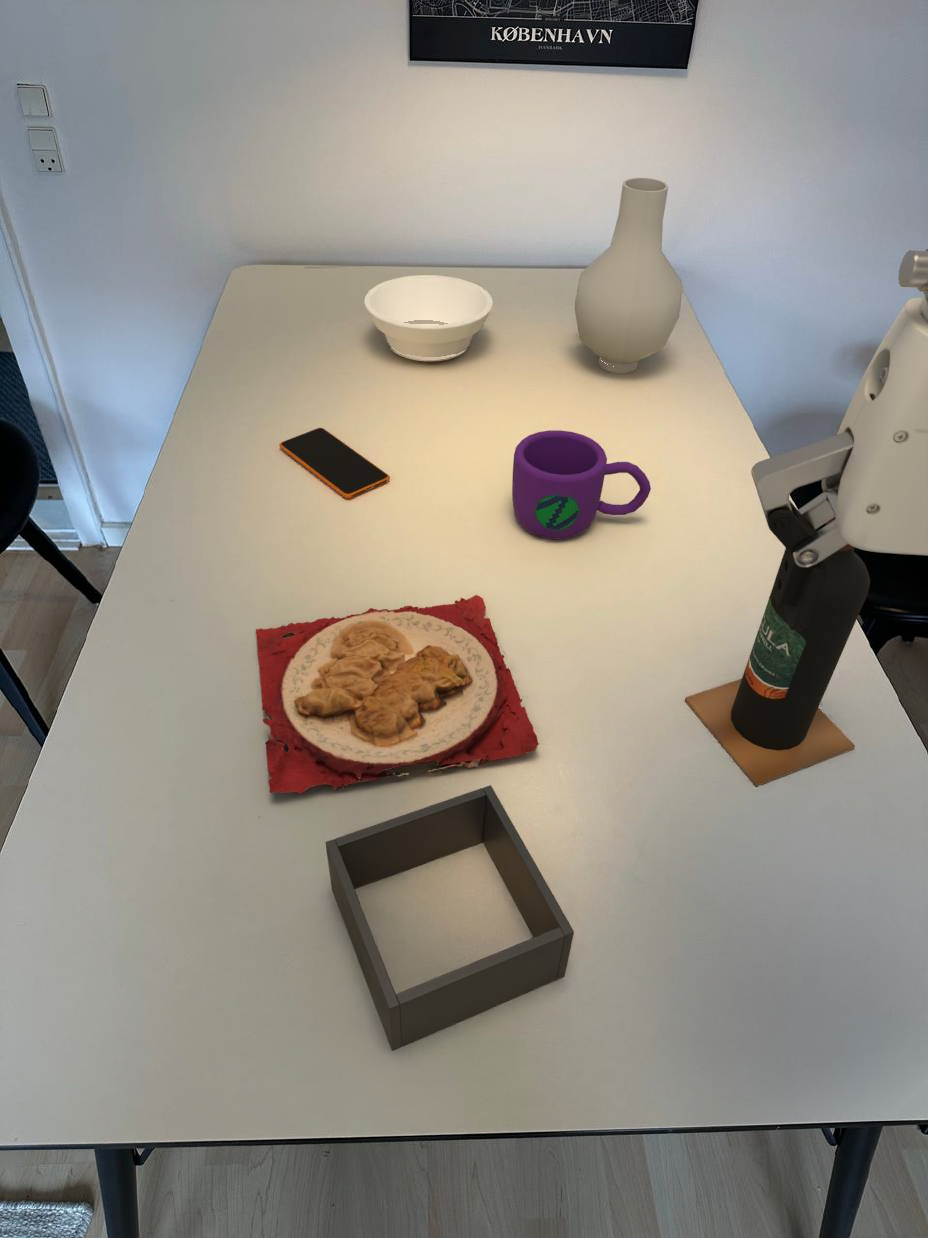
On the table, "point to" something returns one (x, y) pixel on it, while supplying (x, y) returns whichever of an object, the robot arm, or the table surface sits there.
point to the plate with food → (387, 695)
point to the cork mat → (754, 759)
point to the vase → (630, 284)
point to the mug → (565, 483)
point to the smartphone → (334, 462)
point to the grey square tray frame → (477, 982)
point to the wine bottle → (798, 658)
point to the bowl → (428, 313)
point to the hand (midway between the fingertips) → (885, 617)
